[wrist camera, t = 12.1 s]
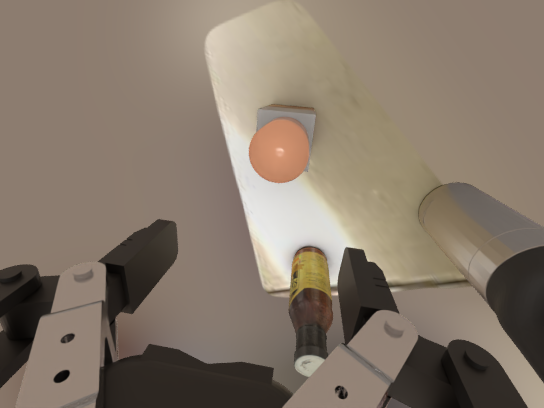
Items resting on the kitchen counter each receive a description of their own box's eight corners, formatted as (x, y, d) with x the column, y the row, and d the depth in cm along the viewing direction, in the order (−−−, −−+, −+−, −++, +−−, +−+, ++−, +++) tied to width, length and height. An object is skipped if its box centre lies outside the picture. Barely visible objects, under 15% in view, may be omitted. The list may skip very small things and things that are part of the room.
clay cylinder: (312, 118, 27) (313, 125, 21) (305, 168, 29) (305, 186, 23) (261, 114, 27) (250, 119, 22) (259, 163, 29) (247, 179, 24)
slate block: (314, 110, 32) (315, 114, 26) (308, 158, 34) (308, 171, 29) (266, 106, 32) (257, 109, 27) (263, 153, 35) (254, 165, 29)
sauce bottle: (291, 245, 47) (280, 343, 29) (326, 244, 46) (338, 344, 28) (294, 275, 49) (286, 382, 31) (328, 274, 48) (339, 384, 30)
